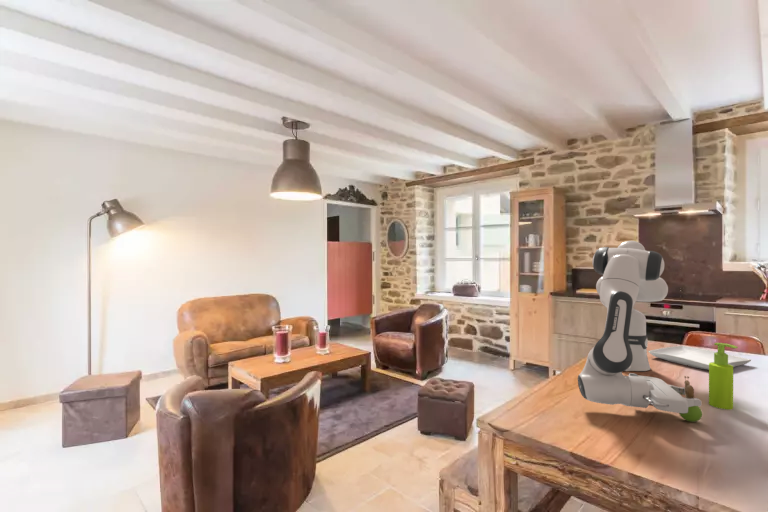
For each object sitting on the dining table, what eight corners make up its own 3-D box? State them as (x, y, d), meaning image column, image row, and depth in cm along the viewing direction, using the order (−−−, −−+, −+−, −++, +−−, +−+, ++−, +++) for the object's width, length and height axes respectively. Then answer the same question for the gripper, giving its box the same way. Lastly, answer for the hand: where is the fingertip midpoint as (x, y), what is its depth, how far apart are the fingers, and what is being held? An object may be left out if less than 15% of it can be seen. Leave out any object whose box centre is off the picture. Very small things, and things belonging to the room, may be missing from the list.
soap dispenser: (732, 412, 120) (732, 346, 119) (705, 404, 126) (705, 342, 125) (740, 408, 122) (741, 344, 122) (714, 401, 128) (714, 340, 128)
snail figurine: (697, 417, 116) (697, 377, 116) (704, 426, 110) (704, 383, 110) (675, 414, 118) (675, 374, 118) (681, 422, 112) (681, 381, 112)
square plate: (715, 375, 156) (715, 365, 156) (646, 358, 181) (646, 349, 181) (752, 367, 167) (752, 358, 167) (682, 352, 192) (682, 344, 192)
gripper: (650, 393, 108) (710, 398, 104) (628, 371, 127) (678, 375, 123) (650, 416, 108) (710, 422, 104) (628, 390, 127) (678, 395, 123)
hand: (692, 396), depth 114 cm, fingers open, 8 cm apart
